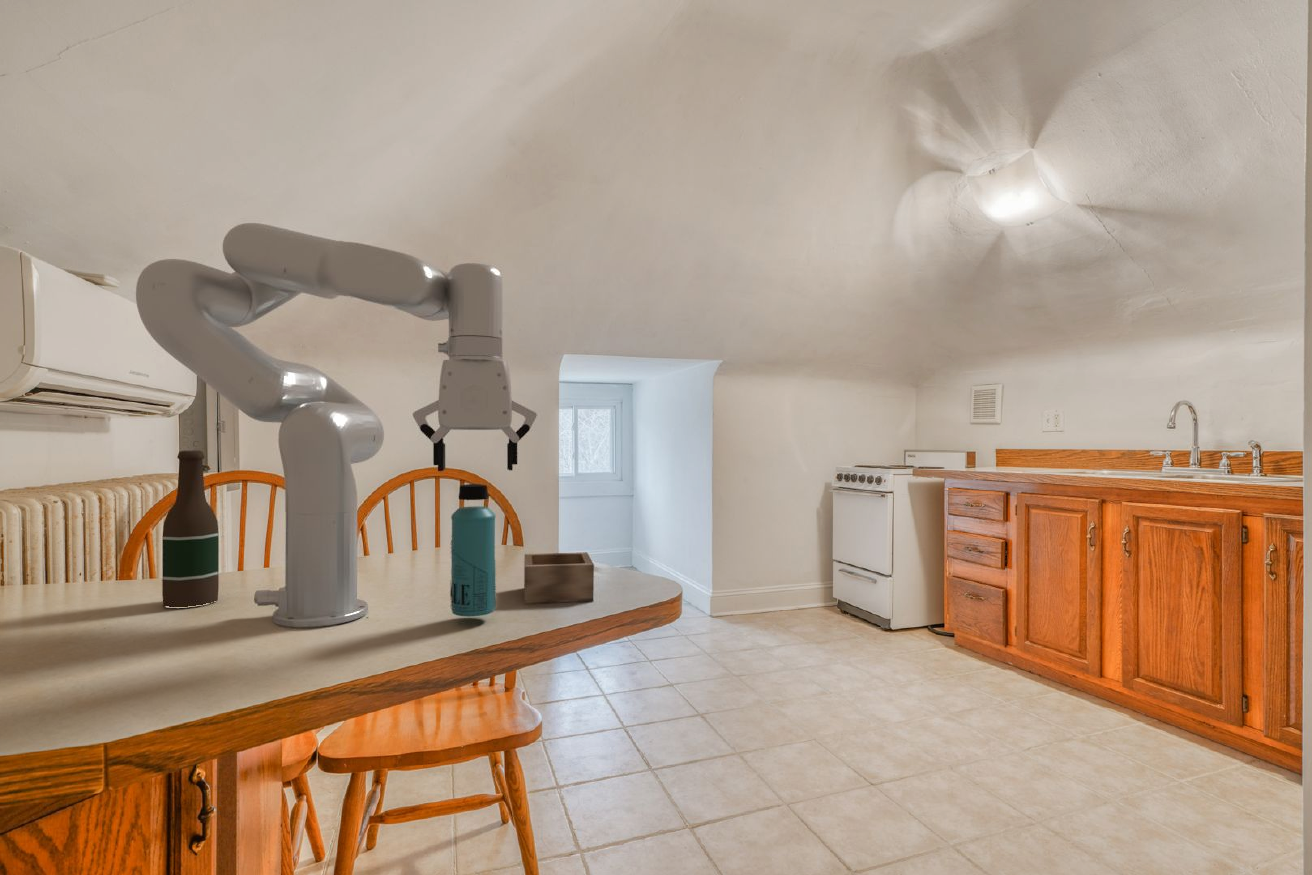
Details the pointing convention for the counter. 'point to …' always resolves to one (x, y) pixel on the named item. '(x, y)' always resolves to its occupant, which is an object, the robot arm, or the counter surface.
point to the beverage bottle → (473, 555)
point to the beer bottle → (190, 540)
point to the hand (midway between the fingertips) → (476, 470)
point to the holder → (558, 577)
